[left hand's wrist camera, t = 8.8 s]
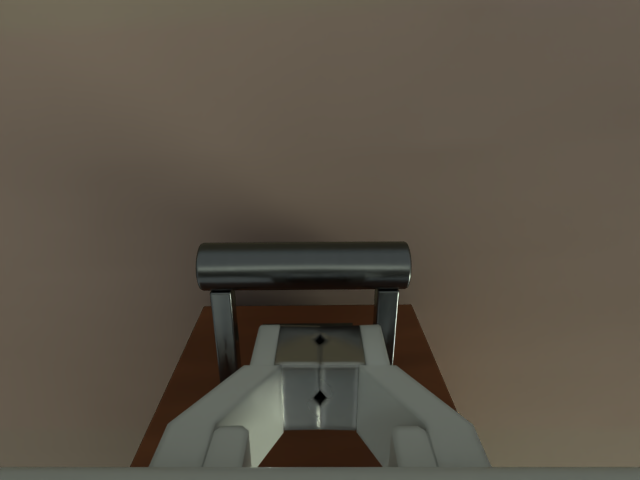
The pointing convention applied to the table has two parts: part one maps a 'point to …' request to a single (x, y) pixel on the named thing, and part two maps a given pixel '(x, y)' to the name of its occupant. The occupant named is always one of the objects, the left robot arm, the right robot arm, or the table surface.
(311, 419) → the left robot arm
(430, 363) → the drawer
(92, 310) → the table surface
